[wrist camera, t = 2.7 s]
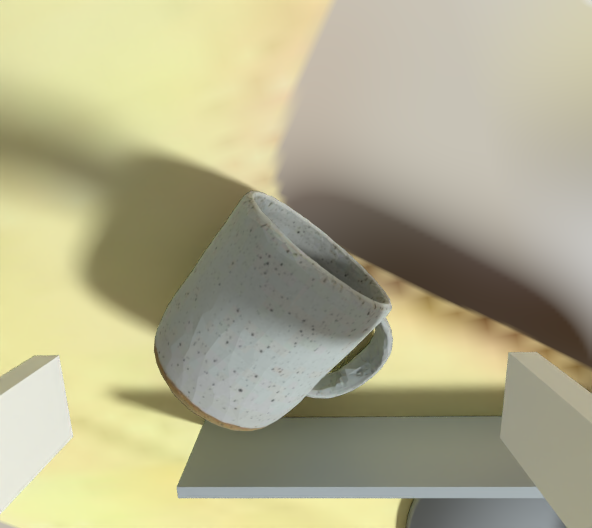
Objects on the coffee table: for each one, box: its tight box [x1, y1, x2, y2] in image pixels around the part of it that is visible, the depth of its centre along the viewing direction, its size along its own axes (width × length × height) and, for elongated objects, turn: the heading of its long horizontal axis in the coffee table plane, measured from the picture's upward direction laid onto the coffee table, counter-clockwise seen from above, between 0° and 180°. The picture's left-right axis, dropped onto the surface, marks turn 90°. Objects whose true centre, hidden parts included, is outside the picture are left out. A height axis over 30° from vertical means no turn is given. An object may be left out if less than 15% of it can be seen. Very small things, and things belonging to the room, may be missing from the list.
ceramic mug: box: [154, 191, 393, 431], centre depth 16 cm, size 11×8×8 cm
